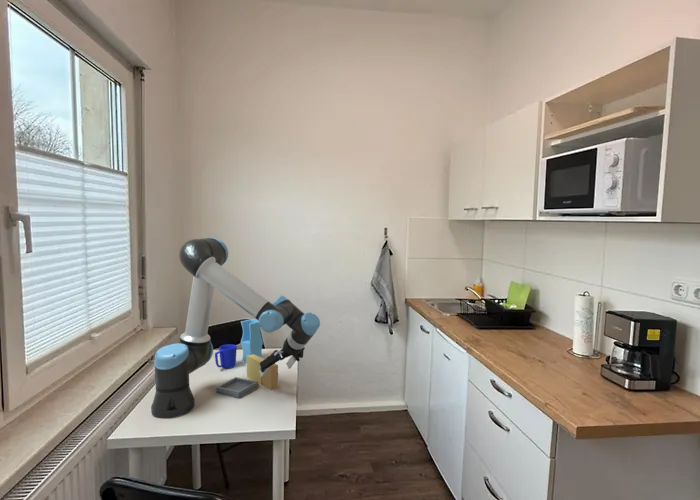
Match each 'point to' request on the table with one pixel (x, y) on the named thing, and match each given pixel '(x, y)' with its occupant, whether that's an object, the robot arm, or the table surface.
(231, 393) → the tray
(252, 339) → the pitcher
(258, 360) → the grey-ended yellow block
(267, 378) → the stub
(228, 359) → the mug
